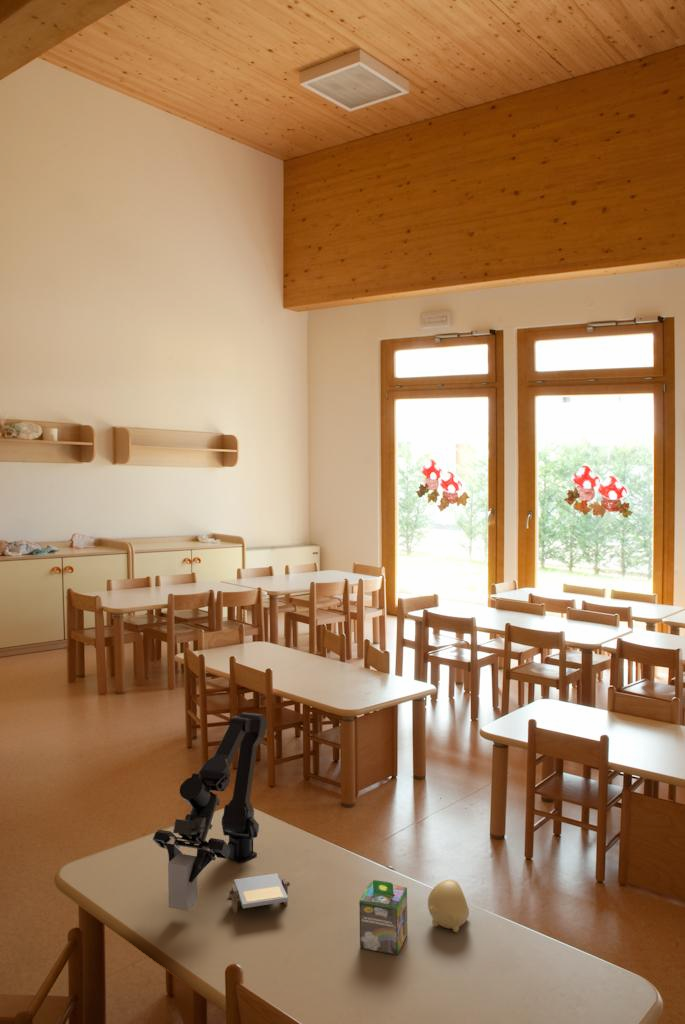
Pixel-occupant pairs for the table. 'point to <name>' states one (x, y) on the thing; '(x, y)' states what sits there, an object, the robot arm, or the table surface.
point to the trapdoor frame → (234, 895)
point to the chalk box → (383, 917)
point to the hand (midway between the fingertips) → (180, 880)
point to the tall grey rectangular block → (181, 882)
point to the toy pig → (448, 905)
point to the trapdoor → (260, 890)
